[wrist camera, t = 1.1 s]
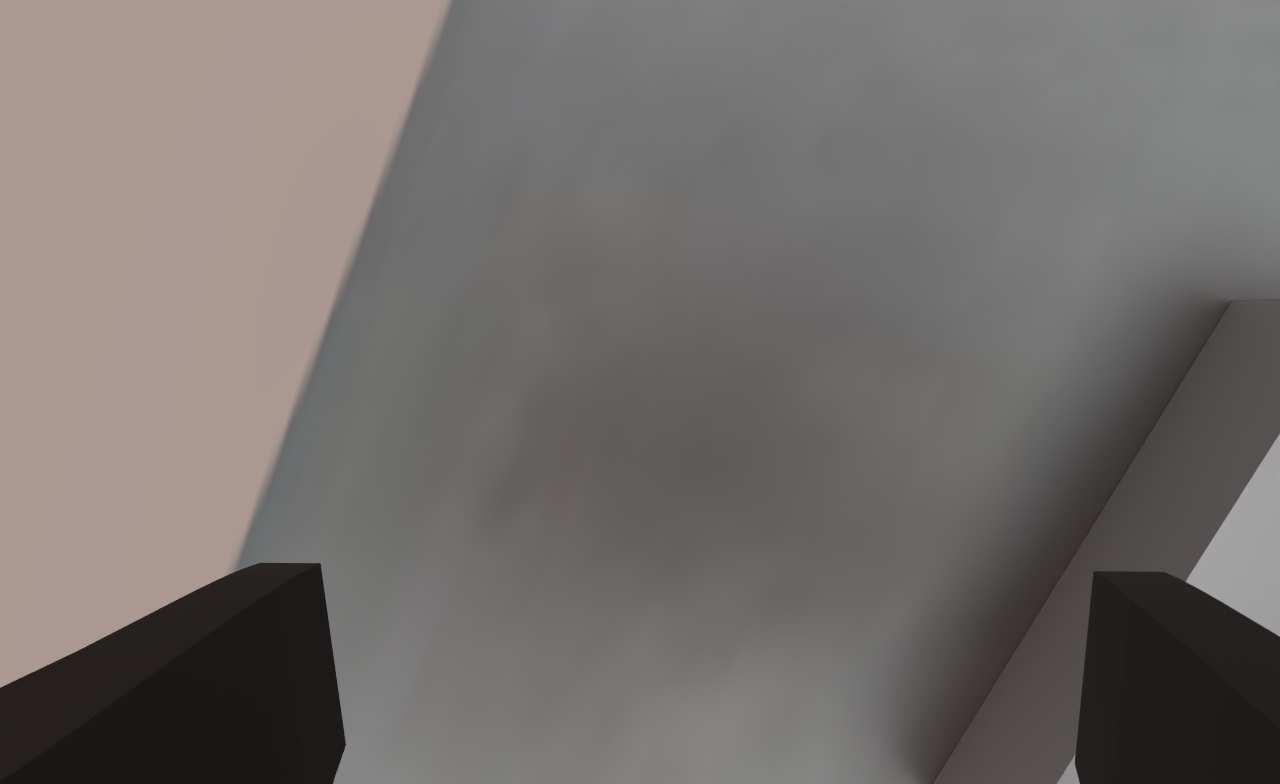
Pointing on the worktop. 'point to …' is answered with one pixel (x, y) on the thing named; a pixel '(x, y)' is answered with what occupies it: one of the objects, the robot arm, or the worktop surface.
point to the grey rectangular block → (1153, 547)
